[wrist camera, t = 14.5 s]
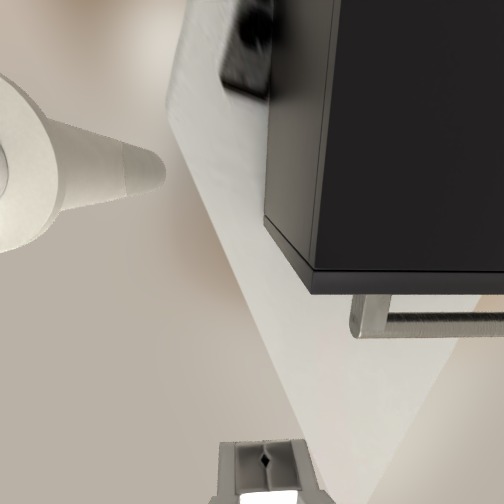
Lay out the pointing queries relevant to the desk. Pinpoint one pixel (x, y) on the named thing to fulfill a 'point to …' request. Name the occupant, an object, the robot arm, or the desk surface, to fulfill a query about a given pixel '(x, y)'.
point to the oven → (388, 133)
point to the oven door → (400, 283)
